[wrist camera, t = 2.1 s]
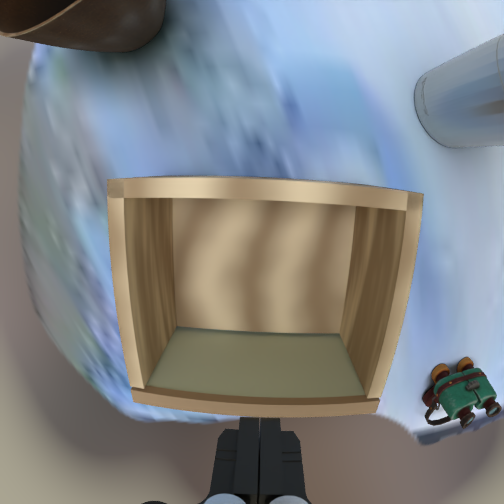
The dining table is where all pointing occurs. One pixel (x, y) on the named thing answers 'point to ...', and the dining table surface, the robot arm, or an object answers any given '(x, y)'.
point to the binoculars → (460, 393)
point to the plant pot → (83, 23)
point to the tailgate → (256, 375)
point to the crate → (262, 263)
